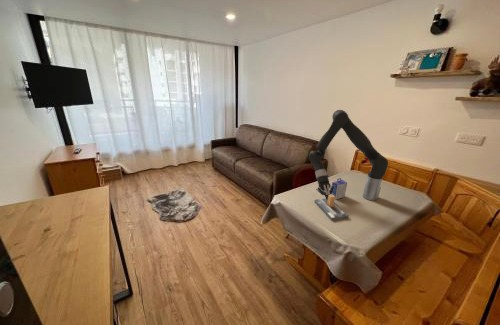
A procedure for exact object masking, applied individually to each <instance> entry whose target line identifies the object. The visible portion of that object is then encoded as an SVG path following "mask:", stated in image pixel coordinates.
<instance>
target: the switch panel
mask: <svg viewBox="0 0 500 325" xmlns="http://www.w3.org/2000/svg"><path fill="white" fill-rule="evenodd" d="M314 204H315V205H316V206H317V207H318V208H319V209H320V210H321V211H322V213H324V215H326V217H327V218H328V219H329V220H330V221H336V220H337V221H338V220H344V219H348V218H349V215H348V213H347V212H346V211H344V210H343V208H341V207H340V206H339V205H338V204H337V203H336V202H335V201H334V206H333V207H331V208H330V207H329V206H328V205H327V200H326V198H321V197H319V198H317V199H314Z"/></svg>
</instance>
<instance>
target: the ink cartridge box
mask: <svg viewBox="0 0 500 325" xmlns="http://www.w3.org/2000/svg"><path fill="white" fill-rule="evenodd" d="M331 186H334V189H333V192H332V193H331V194H330V195H334V196H335V200H338V199H342V198H345V197H346V192H347V187H348V181H345V180H343V179H342V177H341V178H340V177H339V178H337V179H336V181H332V183H331Z"/></svg>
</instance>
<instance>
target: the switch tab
mask: <svg viewBox="0 0 500 325" xmlns="http://www.w3.org/2000/svg"><path fill="white" fill-rule="evenodd" d="M335 200H336V199H335V196H334V195H331V194H330V195H328V200H327V205H328V206H329V207H330V208H331V207H333V206H334V202H335Z"/></svg>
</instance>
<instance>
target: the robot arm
mask: <svg viewBox="0 0 500 325" xmlns="http://www.w3.org/2000/svg"><path fill="white" fill-rule="evenodd" d="M341 129H342V130H343V131H344V133H345V135H346V137H348V140H350V142H351V143H352V144H353V145H354V147H355V148H357V149H358V150H359V151H360V153H362V154H364V156H365V157H366V158H367V160H368V162H369V163H370V165H371V166H372V167H371V170H370V171H368V172H367V177H366V180H365V183H364V188H363V189H364V190H363V192H362V193H363V194H362V197H363V198H364V199H365V200H367V201H376V200H378V199H379V196H380V192H381V185H382V181H383V177H384V176H385V174H386V172H387V170H388V169H387V168H388V166H389V161H388V159H387V158H386V157H384V155H383V154H381V153H380V152H378V151H377V150H376V148H375V147H374V146H373V145H372V142H371V141H370V139H369V138H368V136H367V135H366V134H365V133H364V132H363V131H362V129H360V128H359V127H358V126H357V125H356V124H354V123H353V121H352V120H351V119H350V117H349V114H348V113H347V112H346V111H345V110H343V109H337V110H336V111H334V112H333V114H332V122H331V125H330V126H329V127H328V130H327V131H325V133H324V134H323V135H322V136H321V138H320V139H319V141H318V143H317V144H316V148H317V150H311V151H309V154H308V159H309V161H310V163H311V165H312V166H313V168H314V173H315V178H316V181H317V185H318V186H317V188H316V191H317V192H318V193H320V194H321V196H325V199H326V200H328V195H331V193H332V192H333V189H334V186H332V184H331V183H330V180H329V176H328V174H327V171H326V168H325V164H324V163H323V162H322V161H321V160H323V158H324V156H325V153H326V150H327V149H328V147H329V145H331V144H330V143H332V141H333V140H334V138H335V137H336V135H337V134H338V132H339V131H340V130H341Z"/></svg>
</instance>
